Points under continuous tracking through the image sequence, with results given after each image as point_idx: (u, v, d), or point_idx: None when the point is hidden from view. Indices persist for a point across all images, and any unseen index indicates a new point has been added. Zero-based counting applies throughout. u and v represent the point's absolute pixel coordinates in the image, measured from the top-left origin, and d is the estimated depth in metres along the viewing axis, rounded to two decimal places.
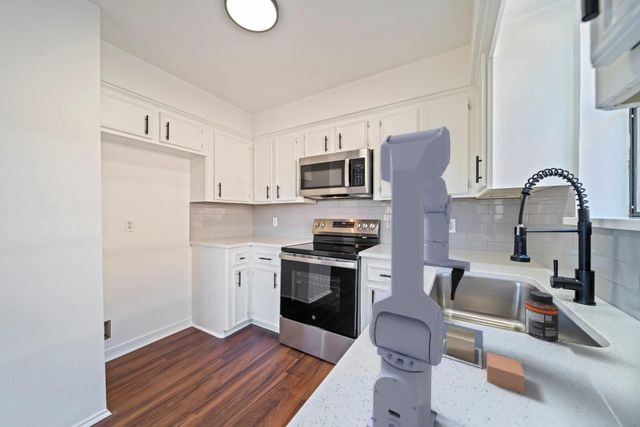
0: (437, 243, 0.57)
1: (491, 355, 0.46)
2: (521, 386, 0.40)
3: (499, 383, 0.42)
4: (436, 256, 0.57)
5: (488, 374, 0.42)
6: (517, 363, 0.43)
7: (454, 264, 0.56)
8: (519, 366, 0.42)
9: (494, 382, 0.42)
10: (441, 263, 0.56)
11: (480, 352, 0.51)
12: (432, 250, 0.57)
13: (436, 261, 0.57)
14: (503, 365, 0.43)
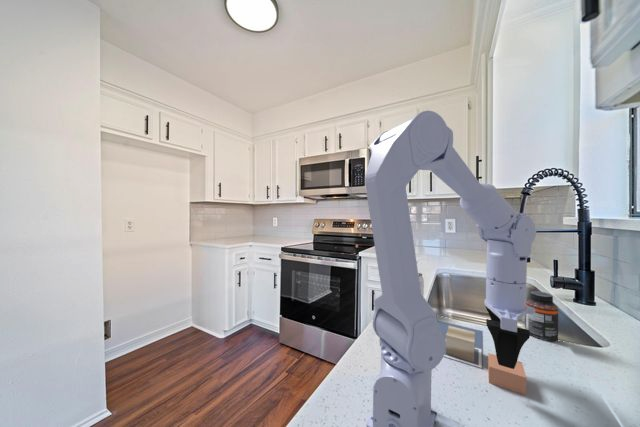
0: (487, 279, 0.44)
1: (493, 356, 0.45)
2: (523, 387, 0.40)
3: (501, 384, 0.41)
4: (486, 295, 0.44)
5: (490, 375, 0.42)
6: (519, 364, 0.43)
7: (494, 312, 0.41)
8: (521, 367, 0.42)
9: (496, 383, 0.42)
10: (487, 306, 0.43)
11: (480, 352, 0.51)
12: (486, 287, 0.45)
13: (485, 301, 0.44)
14: None
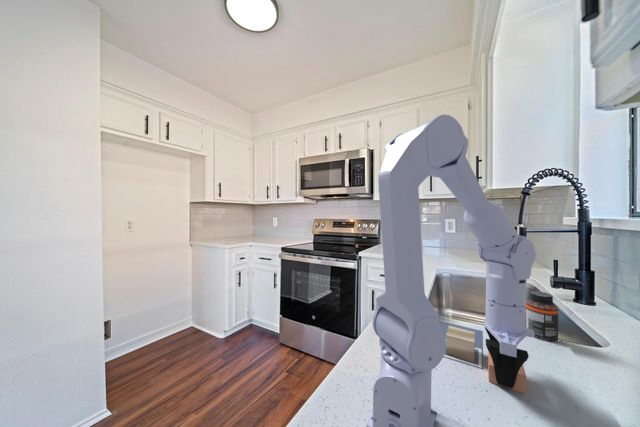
0: (486, 300, 0.44)
1: None
2: (523, 385, 0.40)
3: None
4: (486, 316, 0.44)
5: (490, 373, 0.42)
6: None
7: (494, 335, 0.41)
8: None
9: (496, 381, 0.42)
10: (487, 327, 0.43)
11: (480, 352, 0.51)
12: None
13: (485, 322, 0.44)
14: None
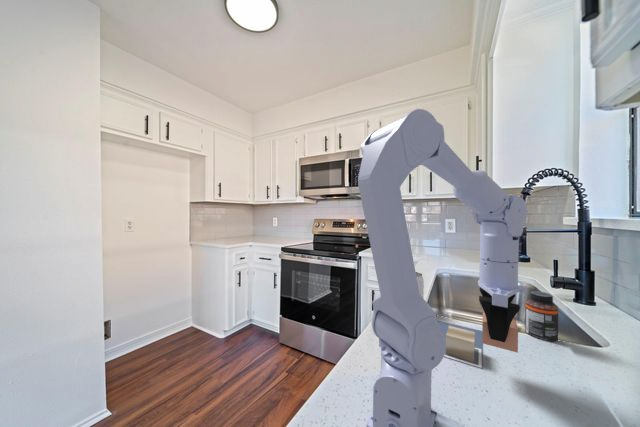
0: (480, 259, 0.45)
1: None
2: (515, 339, 0.41)
3: None
4: (480, 276, 0.45)
5: (483, 330, 0.44)
6: (512, 320, 0.44)
7: (487, 290, 0.42)
8: (514, 322, 0.43)
9: (489, 337, 0.43)
10: (480, 285, 0.44)
11: (480, 352, 0.51)
12: None
13: (478, 282, 0.46)
14: None
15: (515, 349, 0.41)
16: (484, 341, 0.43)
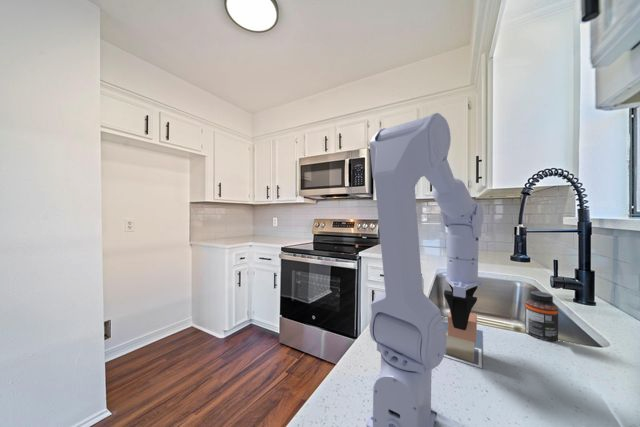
0: (447, 257, 0.52)
1: None
2: (474, 331, 0.48)
3: (457, 330, 0.49)
4: (447, 271, 0.52)
5: (448, 323, 0.50)
6: (474, 315, 0.51)
7: (450, 284, 0.49)
8: (475, 317, 0.50)
9: (453, 330, 0.50)
10: (447, 280, 0.51)
11: (480, 352, 0.51)
12: None
13: (446, 277, 0.52)
14: None
15: (474, 340, 0.48)
16: (449, 333, 0.50)
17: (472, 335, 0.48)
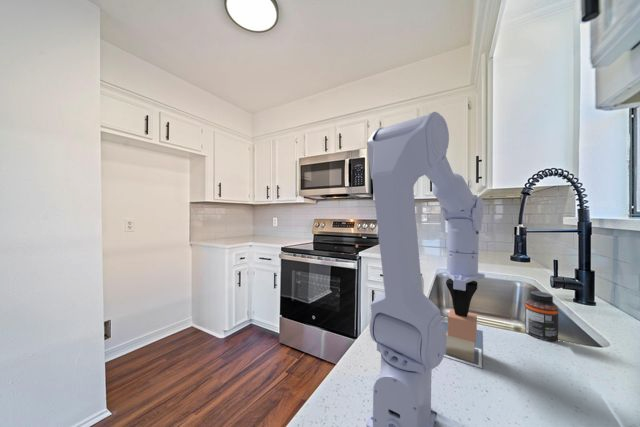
0: (447, 251, 0.52)
1: (453, 310, 0.53)
2: (474, 331, 0.48)
3: (457, 330, 0.49)
4: (447, 265, 0.52)
5: (448, 323, 0.50)
6: (474, 315, 0.51)
7: (451, 277, 0.49)
8: (475, 317, 0.50)
9: (453, 330, 0.50)
10: (447, 274, 0.51)
11: (480, 352, 0.51)
12: None
13: (446, 271, 0.52)
14: (461, 316, 0.50)
15: (474, 340, 0.48)
16: (449, 333, 0.50)
17: (472, 335, 0.48)
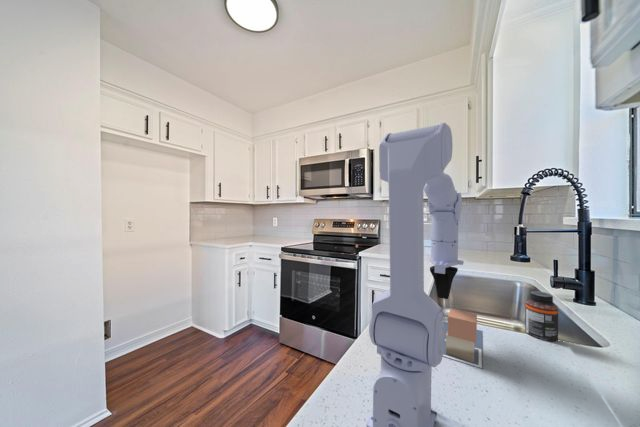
0: (431, 241, 0.58)
1: (453, 310, 0.53)
2: (474, 331, 0.48)
3: (457, 330, 0.49)
4: (431, 253, 0.59)
5: (448, 323, 0.50)
6: (474, 315, 0.51)
7: (433, 263, 0.55)
8: (475, 317, 0.50)
9: (453, 330, 0.50)
10: (430, 261, 0.58)
11: (480, 352, 0.51)
12: None
13: (430, 258, 0.59)
14: (461, 316, 0.50)
15: (474, 340, 0.48)
16: (449, 333, 0.50)
17: (472, 335, 0.48)
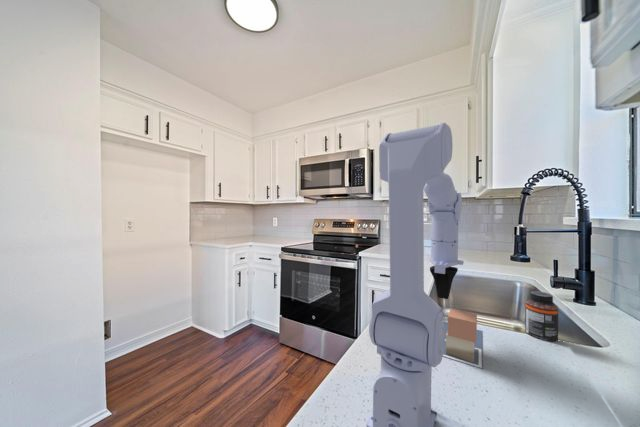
0: (431, 241, 0.58)
1: (453, 310, 0.53)
2: (474, 331, 0.48)
3: (457, 330, 0.49)
4: (431, 253, 0.59)
5: (448, 323, 0.50)
6: (474, 315, 0.51)
7: (433, 263, 0.55)
8: (475, 317, 0.50)
9: (453, 330, 0.50)
10: (430, 261, 0.58)
11: (480, 352, 0.51)
12: None
13: (430, 258, 0.59)
14: (461, 316, 0.50)
15: (474, 340, 0.48)
16: (449, 333, 0.50)
17: (472, 335, 0.48)
